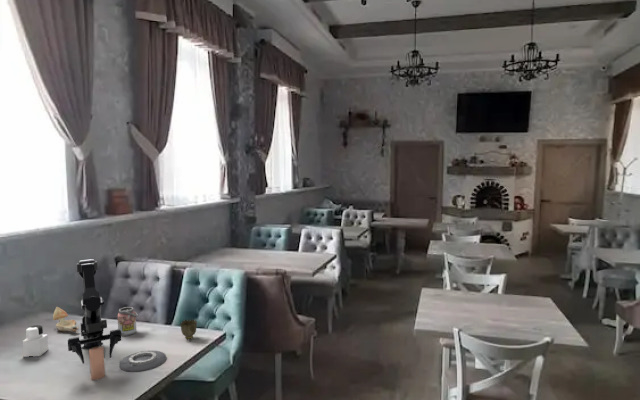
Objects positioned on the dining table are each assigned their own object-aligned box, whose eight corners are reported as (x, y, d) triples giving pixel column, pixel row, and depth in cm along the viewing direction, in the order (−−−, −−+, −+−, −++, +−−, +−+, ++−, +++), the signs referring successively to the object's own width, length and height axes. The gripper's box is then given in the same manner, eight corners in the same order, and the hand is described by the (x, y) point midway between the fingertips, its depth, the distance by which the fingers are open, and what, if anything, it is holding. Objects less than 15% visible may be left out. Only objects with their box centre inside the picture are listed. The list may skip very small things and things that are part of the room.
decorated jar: (137, 328, 222) (136, 304, 221) (140, 333, 215) (139, 309, 214) (117, 332, 217) (116, 308, 217) (119, 337, 210) (118, 313, 209)
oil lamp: (67, 323, 232) (65, 304, 231) (85, 332, 219) (84, 312, 218) (48, 328, 225) (47, 308, 225) (66, 337, 212) (65, 317, 211)
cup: (192, 342, 203) (191, 325, 203) (178, 341, 205) (177, 324, 204) (200, 335, 211) (199, 319, 210) (186, 335, 212) (185, 318, 211)
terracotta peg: (87, 379, 169) (86, 351, 169) (96, 373, 174) (94, 345, 173) (99, 380, 169) (97, 352, 168) (107, 373, 174) (106, 346, 173)
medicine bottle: (32, 350, 198) (30, 324, 197) (48, 349, 198) (47, 323, 197) (22, 357, 191) (20, 330, 190) (40, 356, 191) (38, 329, 190)
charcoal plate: (109, 370, 177) (109, 368, 177) (135, 351, 194) (135, 349, 194) (151, 372, 174) (150, 370, 173) (173, 353, 191) (173, 351, 191)
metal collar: (123, 364, 180) (123, 361, 179) (138, 353, 190) (138, 350, 190) (147, 366, 178) (147, 363, 178) (161, 354, 188) (161, 352, 188)
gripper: (66, 318, 169) (68, 356, 160) (119, 309, 178) (124, 345, 169) (67, 332, 176) (69, 369, 167) (118, 322, 185) (123, 358, 177)
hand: (97, 360), depth 170 cm, fingers open, 9 cm apart
